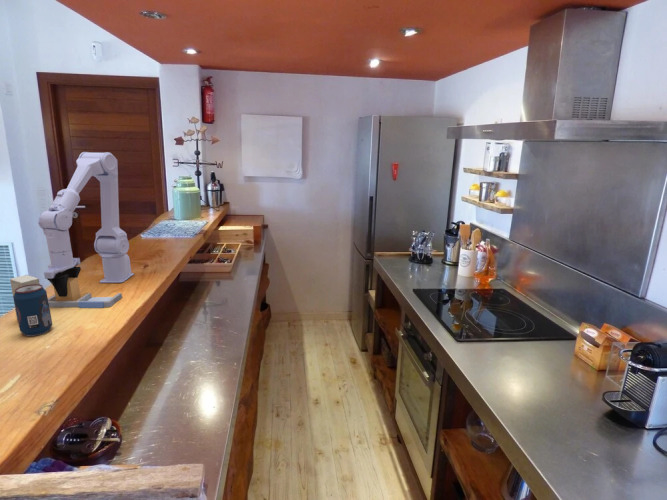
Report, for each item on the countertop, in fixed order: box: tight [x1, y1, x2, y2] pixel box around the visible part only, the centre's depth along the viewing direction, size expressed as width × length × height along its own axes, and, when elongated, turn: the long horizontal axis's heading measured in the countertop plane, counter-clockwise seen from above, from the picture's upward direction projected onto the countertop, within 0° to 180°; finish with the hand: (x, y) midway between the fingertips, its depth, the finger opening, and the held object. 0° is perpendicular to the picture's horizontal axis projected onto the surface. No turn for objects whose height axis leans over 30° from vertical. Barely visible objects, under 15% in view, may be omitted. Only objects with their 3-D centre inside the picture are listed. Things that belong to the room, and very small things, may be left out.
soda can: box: [12, 284, 53, 337], centre depth 107 cm, size 7×7×12 cm
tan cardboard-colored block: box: [53, 278, 82, 301], centre depth 127 cm, size 4×5×7 cm
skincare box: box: [9, 274, 41, 321], centre depth 113 cm, size 6×4×12 cm
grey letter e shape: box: [48, 292, 123, 309], centre depth 127 cm, size 8×20×2 cm, turn 92°
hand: (67, 293), depth 127 cm, fingers closed on tan cardboard-colored block, 4 cm apart
